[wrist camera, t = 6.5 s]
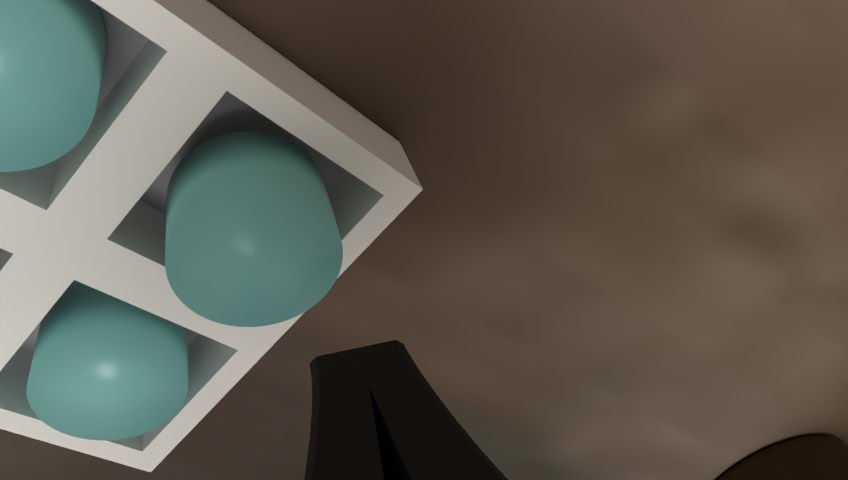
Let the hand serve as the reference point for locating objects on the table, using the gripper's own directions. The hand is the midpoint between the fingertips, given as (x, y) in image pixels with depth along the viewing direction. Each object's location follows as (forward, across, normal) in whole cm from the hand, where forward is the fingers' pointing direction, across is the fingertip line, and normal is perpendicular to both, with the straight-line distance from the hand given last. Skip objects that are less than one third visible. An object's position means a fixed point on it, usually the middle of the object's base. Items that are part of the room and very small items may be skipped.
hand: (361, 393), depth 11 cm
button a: (+9, +6, +5) cm, 12 cm away
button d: (+9, +5, -3) cm, 11 cm away
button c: (+8, +1, +1) cm, 8 cm away
